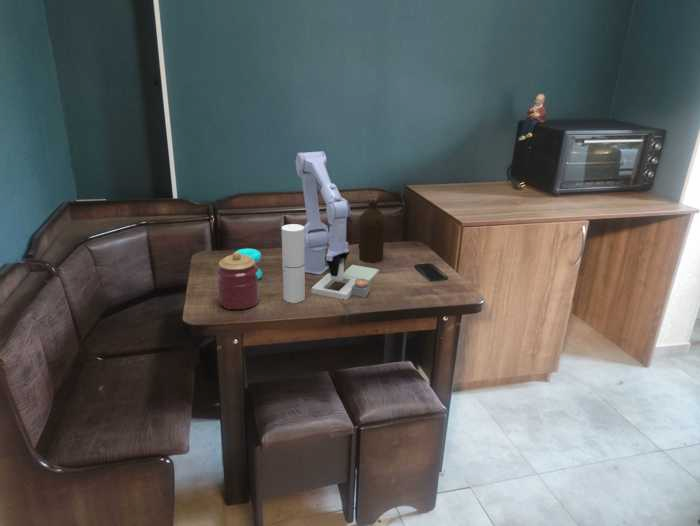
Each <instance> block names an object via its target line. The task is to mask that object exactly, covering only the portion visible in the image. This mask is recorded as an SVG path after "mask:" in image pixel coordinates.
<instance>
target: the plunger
mask: <svg viewBox="0 0 700 526" xmlns="http://www.w3.org/2000/svg"><path fill="white" fill-rule="evenodd" d="M368 284H369V283H368V281H367V280H366V279H356V280H355V285H356V286H355V287H359V288H365V287H366V286H367V285H368Z"/></svg>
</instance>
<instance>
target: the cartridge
mask: <svg viewBox="0 0 700 526" xmlns="http://www.w3.org/2000/svg"><path fill="white" fill-rule="evenodd" d="M337 258H341V259H342V260H341V262H340V265H339V269H338V275H337V276H331V280H334V281H335V282H336V281H341V280H343V277H344V272H345V271H344V270H345V265H344V258H343V257H339V256H337Z"/></svg>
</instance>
